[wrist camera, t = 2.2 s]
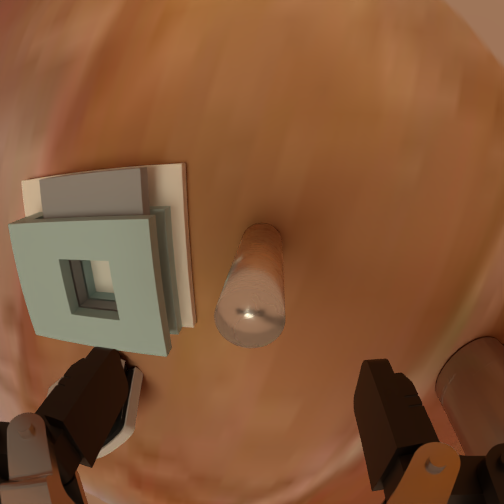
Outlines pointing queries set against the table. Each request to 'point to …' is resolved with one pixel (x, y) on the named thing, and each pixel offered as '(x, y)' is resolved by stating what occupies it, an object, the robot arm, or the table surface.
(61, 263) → the square frame block
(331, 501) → the table surface
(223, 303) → the pin
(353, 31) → the table surface
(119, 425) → the white black beveled block
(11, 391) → the table surface
